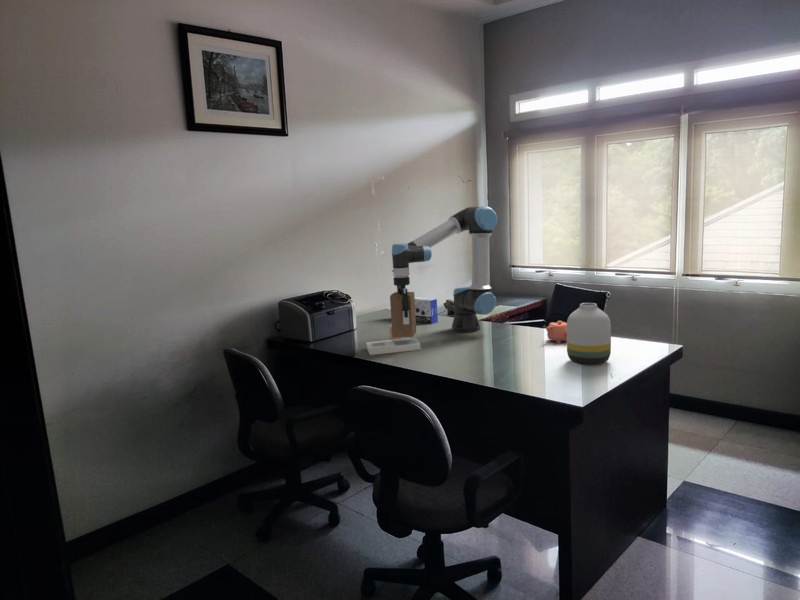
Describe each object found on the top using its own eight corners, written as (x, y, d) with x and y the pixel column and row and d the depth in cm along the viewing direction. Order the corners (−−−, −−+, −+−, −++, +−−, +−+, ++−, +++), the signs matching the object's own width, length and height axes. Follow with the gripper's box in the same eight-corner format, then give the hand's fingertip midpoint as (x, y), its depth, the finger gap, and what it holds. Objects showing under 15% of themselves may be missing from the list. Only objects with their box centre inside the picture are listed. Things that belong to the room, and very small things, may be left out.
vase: (588, 354, 238) (588, 299, 234) (620, 363, 223) (620, 304, 219) (558, 361, 231) (557, 304, 227) (588, 370, 216) (588, 309, 212)
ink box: (391, 320, 337) (390, 296, 335) (398, 318, 342) (397, 295, 340) (431, 324, 318) (429, 300, 315) (438, 322, 323) (437, 298, 320)
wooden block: (413, 337, 261) (410, 294, 257) (392, 337, 263) (389, 295, 259) (416, 332, 270) (414, 291, 267) (396, 332, 272) (394, 292, 269)
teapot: (571, 344, 255) (571, 324, 254) (545, 343, 261) (544, 323, 259) (575, 338, 266) (575, 319, 264) (550, 337, 271) (550, 318, 269)
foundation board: (415, 343, 275) (414, 337, 274) (420, 349, 262) (420, 343, 262) (366, 348, 271) (366, 342, 270) (369, 354, 258) (369, 348, 258)
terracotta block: (399, 339, 287) (398, 323, 285) (401, 341, 282) (400, 325, 280) (389, 339, 286) (388, 324, 285) (391, 342, 281) (390, 326, 280)
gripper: (389, 274, 273) (392, 317, 277) (397, 280, 250) (400, 327, 253) (404, 273, 274) (406, 316, 278) (414, 278, 251) (416, 325, 254)
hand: (403, 321), depth 265 cm, fingers closed on wooden block, 12 cm apart
